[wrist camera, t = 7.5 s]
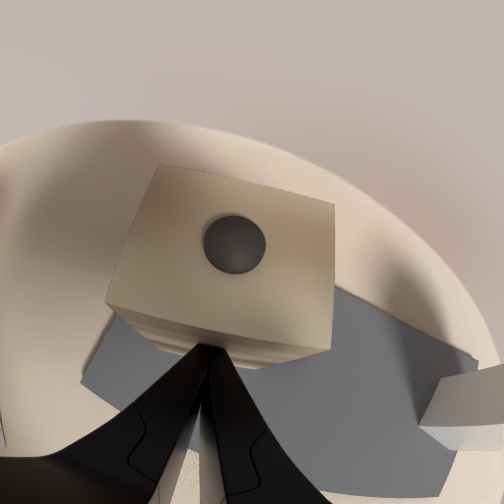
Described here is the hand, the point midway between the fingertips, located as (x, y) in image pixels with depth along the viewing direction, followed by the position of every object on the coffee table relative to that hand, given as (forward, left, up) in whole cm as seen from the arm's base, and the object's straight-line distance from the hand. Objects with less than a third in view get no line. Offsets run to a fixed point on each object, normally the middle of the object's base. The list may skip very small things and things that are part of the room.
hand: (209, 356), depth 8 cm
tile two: (+16, -8, -6) cm, 19 cm away
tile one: (+1, +2, -6) cm, 6 cm away
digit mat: (+7, -3, -7) cm, 10 cm away
